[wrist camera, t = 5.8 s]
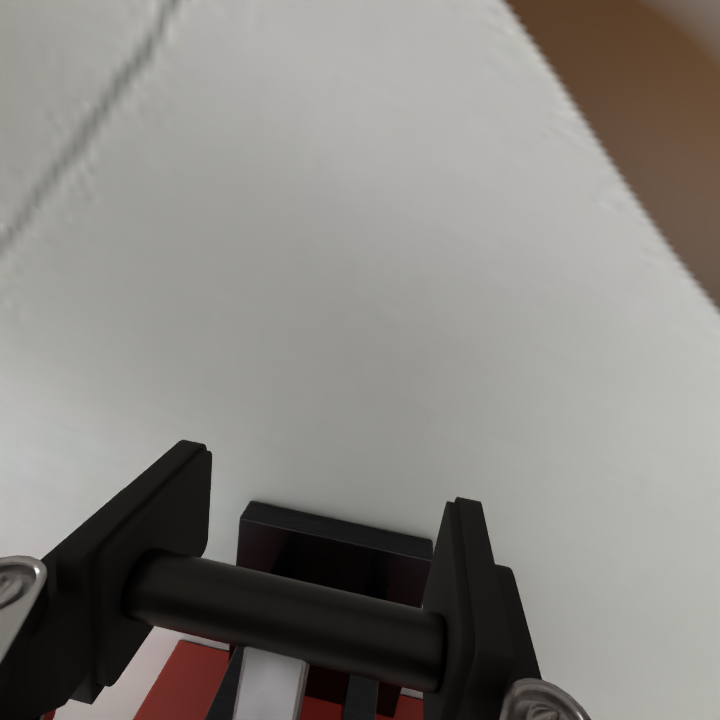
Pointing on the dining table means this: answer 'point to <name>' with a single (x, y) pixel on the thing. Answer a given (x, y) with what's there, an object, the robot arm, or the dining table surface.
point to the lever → (286, 629)
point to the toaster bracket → (334, 570)
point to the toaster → (201, 681)
